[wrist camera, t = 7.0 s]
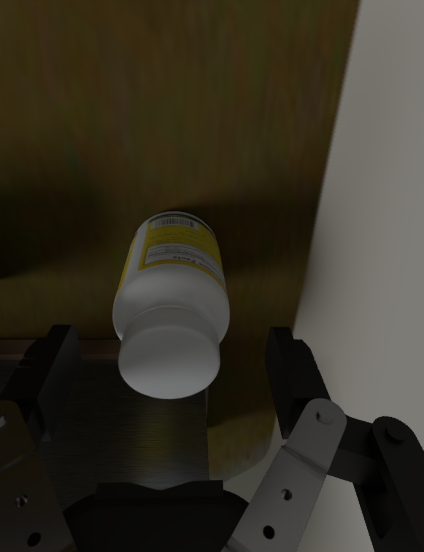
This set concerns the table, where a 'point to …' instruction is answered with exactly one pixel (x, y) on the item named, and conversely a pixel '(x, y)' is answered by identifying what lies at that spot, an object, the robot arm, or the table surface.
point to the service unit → (117, 428)
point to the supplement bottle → (171, 307)
